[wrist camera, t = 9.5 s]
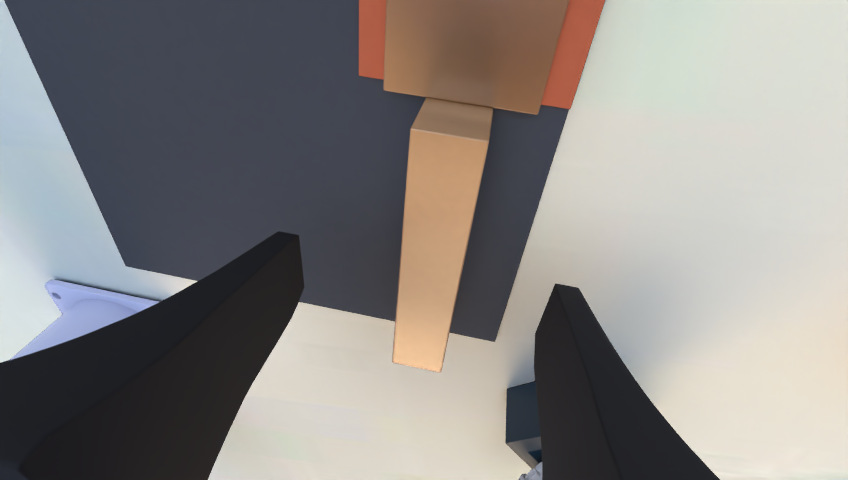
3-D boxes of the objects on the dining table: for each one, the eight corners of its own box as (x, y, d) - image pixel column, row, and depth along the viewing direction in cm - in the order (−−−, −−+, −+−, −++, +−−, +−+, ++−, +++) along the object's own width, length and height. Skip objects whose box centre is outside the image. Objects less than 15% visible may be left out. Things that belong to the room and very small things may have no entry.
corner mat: (495, 337, 21) (494, 345, 21) (129, 262, 23) (122, 268, 22) (664, -201, 9) (671, -206, 9) (-112, -277, 11) (-135, -284, 11)
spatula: (400, -257, 9) (360, -314, 7) (631, -236, 9) (671, -289, 6) (378, 306, 21) (360, 356, 19) (477, 326, 20) (472, 379, 18)
